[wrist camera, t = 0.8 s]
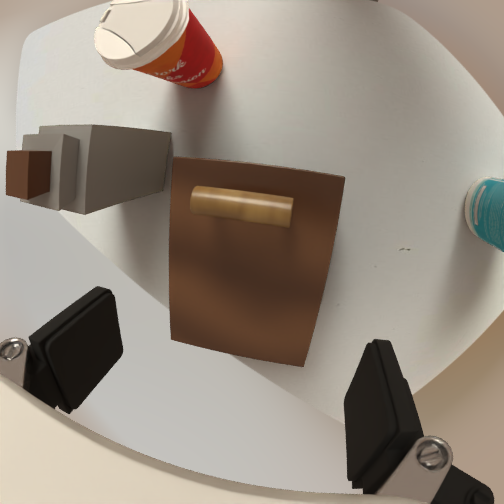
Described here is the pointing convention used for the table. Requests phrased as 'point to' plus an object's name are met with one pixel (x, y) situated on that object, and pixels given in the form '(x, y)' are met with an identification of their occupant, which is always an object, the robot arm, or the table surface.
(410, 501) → the robot arm
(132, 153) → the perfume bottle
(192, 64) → the paper cup
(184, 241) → the chest lid
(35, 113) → the table surface
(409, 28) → the table surface
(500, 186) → the pill bottle
